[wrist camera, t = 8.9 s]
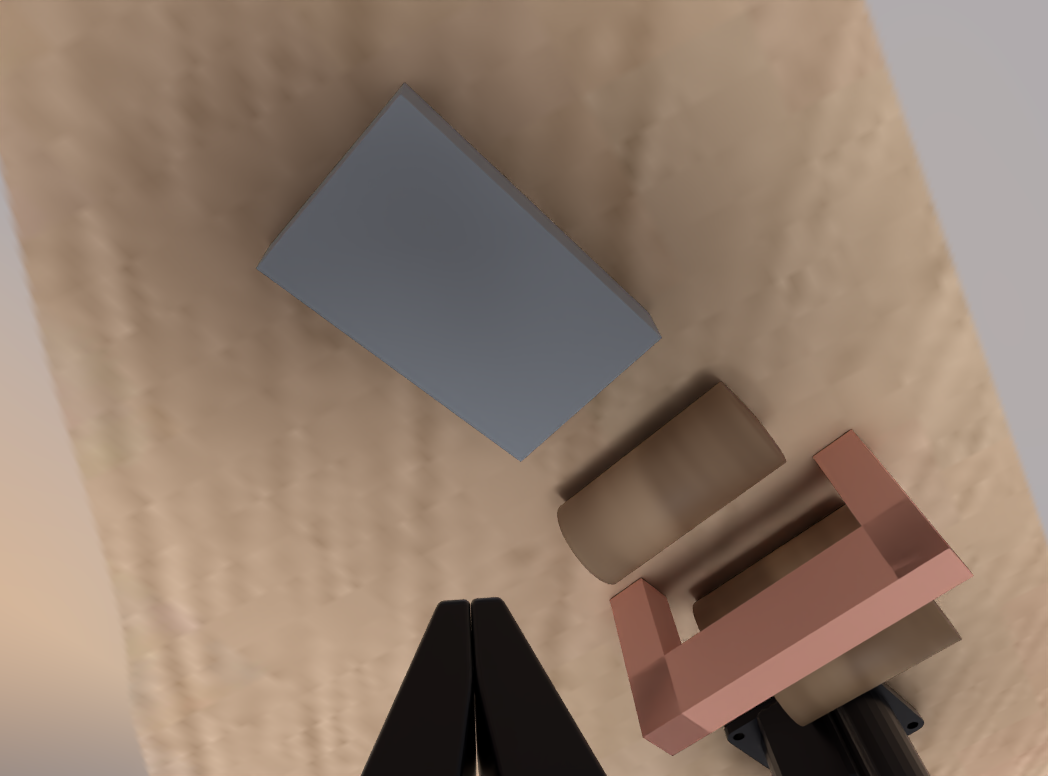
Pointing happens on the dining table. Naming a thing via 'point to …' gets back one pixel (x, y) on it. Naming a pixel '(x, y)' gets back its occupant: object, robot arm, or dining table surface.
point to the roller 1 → (668, 485)
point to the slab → (458, 280)
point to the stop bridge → (787, 611)
